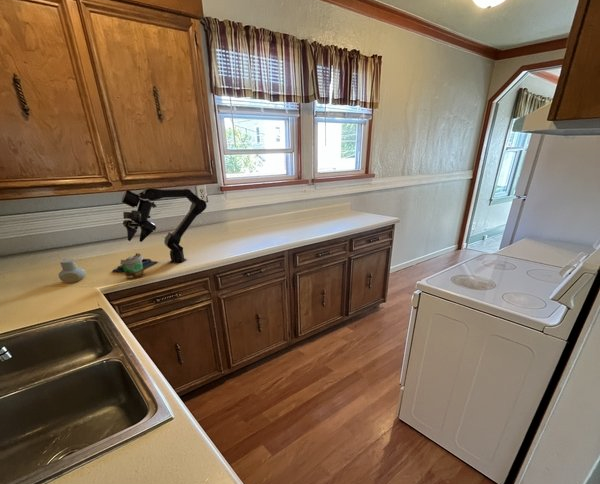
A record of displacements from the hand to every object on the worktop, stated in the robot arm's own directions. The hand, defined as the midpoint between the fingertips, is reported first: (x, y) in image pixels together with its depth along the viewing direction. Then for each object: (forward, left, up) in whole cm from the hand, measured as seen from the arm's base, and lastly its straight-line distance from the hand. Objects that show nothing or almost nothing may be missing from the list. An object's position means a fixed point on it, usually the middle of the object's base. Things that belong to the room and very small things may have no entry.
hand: (134, 241), depth 162 cm
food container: (-4, +7, -16) cm, 18 cm away
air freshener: (+23, +19, -16) cm, 34 cm away
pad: (+7, -5, -16) cm, 18 cm away
